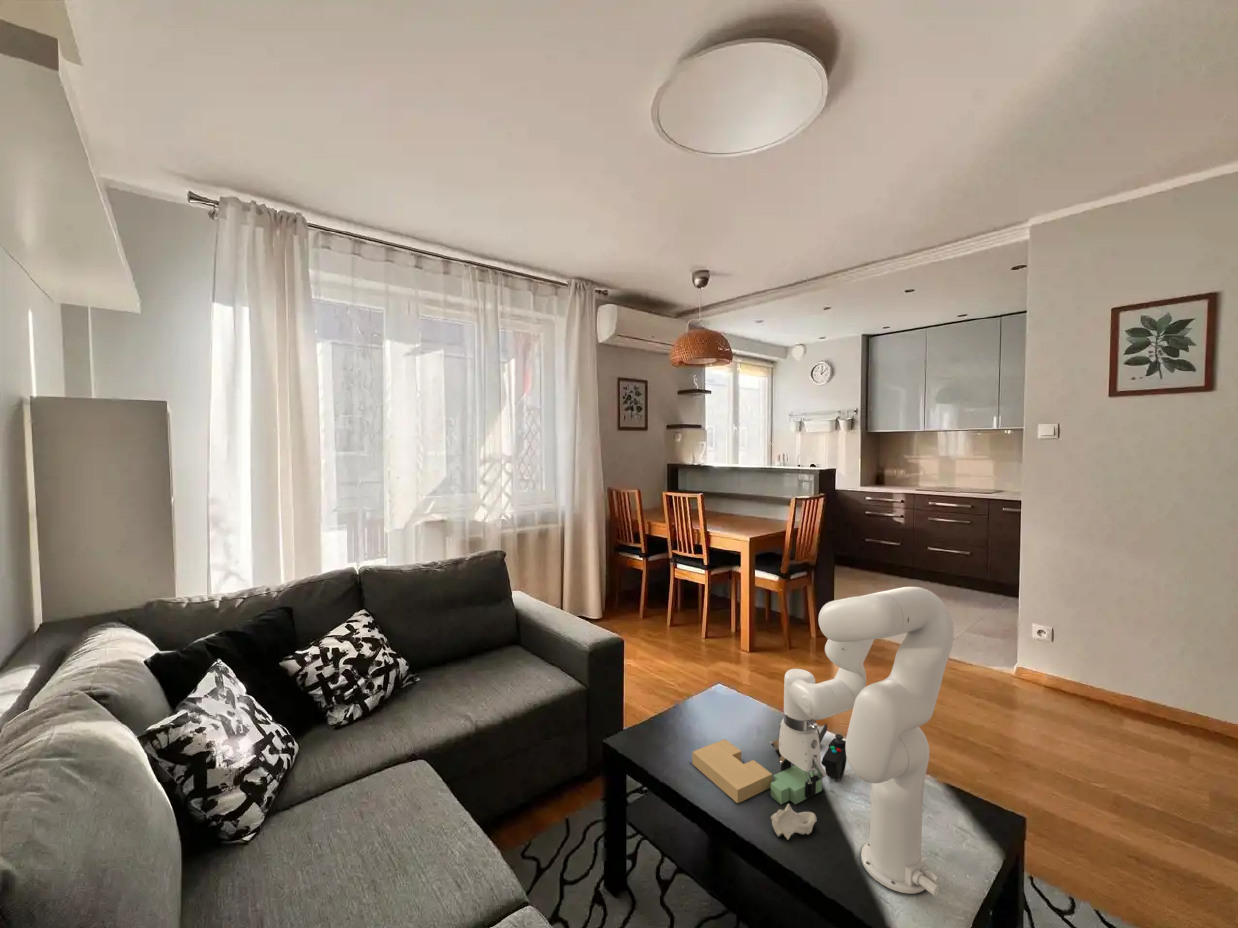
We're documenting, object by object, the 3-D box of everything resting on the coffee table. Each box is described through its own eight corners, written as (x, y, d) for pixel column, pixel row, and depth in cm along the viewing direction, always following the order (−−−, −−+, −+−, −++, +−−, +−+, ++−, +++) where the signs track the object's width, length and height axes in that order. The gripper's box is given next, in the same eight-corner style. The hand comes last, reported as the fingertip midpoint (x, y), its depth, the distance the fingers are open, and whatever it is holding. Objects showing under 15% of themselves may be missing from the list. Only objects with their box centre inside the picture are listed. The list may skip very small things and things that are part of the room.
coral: (820, 831, 118) (821, 812, 118) (785, 846, 114) (786, 827, 114) (802, 814, 124) (802, 797, 123) (768, 828, 119) (768, 810, 119)
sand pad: (772, 786, 134) (772, 773, 133) (737, 803, 127) (737, 789, 127) (724, 750, 149) (725, 738, 149) (692, 763, 143) (692, 751, 143)
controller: (849, 769, 140) (850, 734, 140) (836, 794, 131) (837, 756, 130) (833, 763, 143) (834, 728, 143) (819, 787, 133) (819, 749, 133)
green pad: (822, 790, 132) (822, 777, 132) (786, 808, 126) (786, 795, 125) (800, 775, 138) (800, 762, 138) (765, 791, 132) (765, 778, 131)
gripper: (838, 732, 126) (836, 802, 127) (782, 700, 141) (781, 763, 142) (817, 741, 122) (816, 813, 123) (763, 708, 137) (762, 772, 138)
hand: (797, 786), depth 133 cm, fingers closed on green pad, 7 cm apart
